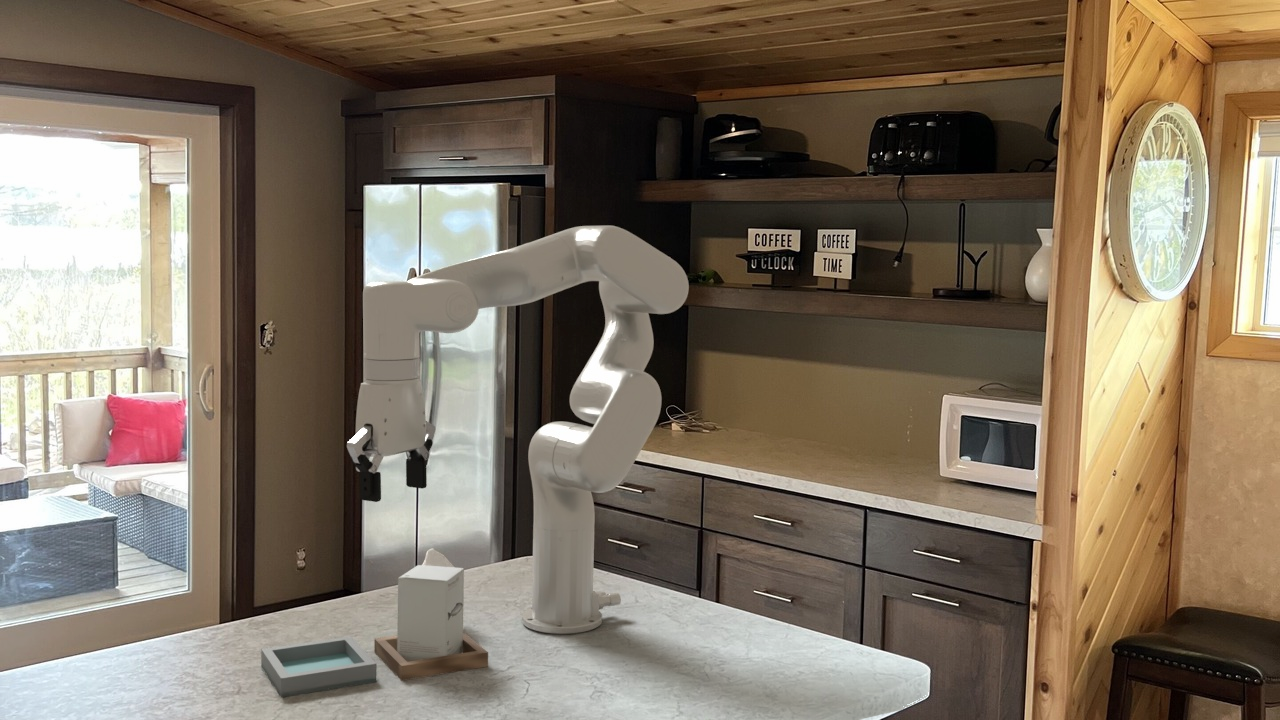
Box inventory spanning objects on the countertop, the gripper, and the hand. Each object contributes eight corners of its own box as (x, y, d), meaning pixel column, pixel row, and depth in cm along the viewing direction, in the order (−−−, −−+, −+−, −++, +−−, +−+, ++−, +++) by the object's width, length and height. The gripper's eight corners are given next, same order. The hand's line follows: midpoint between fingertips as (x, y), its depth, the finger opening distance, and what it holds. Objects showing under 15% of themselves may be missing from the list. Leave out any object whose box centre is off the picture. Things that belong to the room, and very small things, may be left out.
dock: (351, 653, 162) (351, 636, 162) (376, 681, 151) (376, 663, 151) (261, 666, 156) (261, 648, 156) (281, 697, 145) (281, 678, 145)
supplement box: (445, 670, 156) (446, 580, 155) (395, 665, 158) (395, 576, 157) (464, 653, 163) (465, 567, 162) (416, 648, 165) (416, 563, 164)
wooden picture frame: (456, 639, 169) (456, 626, 169) (487, 666, 158) (488, 652, 158) (374, 652, 163) (374, 638, 163) (401, 680, 152) (401, 666, 152)
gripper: (410, 364, 165) (412, 480, 167) (327, 375, 150) (329, 503, 152) (452, 367, 162) (453, 485, 163) (371, 379, 147) (373, 509, 148)
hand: (394, 493), depth 158 cm, fingers open, 9 cm apart
